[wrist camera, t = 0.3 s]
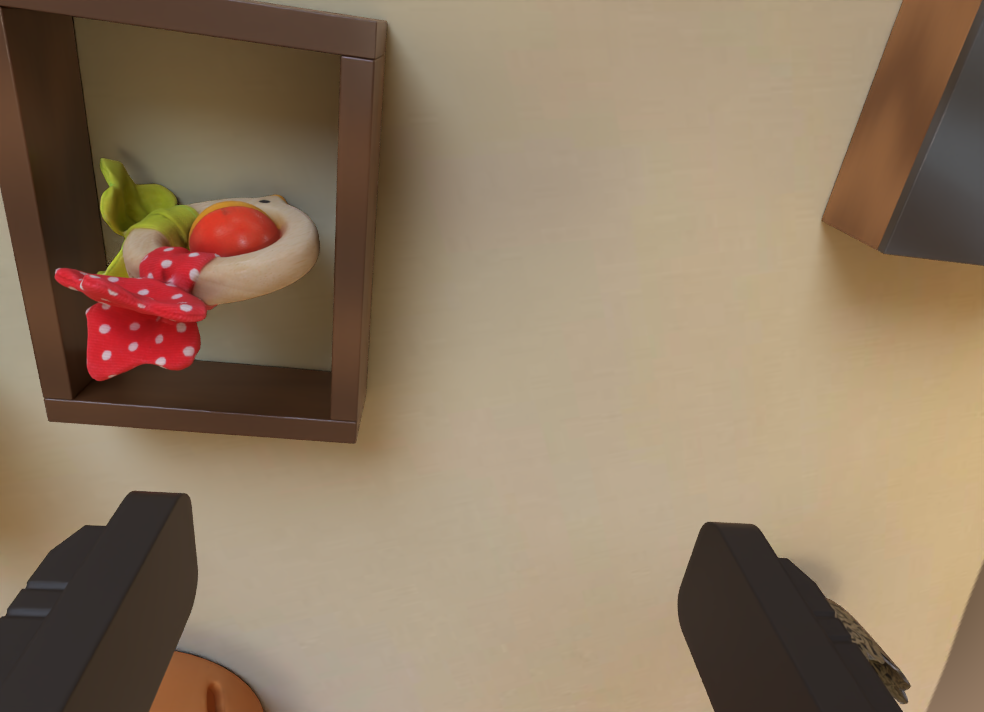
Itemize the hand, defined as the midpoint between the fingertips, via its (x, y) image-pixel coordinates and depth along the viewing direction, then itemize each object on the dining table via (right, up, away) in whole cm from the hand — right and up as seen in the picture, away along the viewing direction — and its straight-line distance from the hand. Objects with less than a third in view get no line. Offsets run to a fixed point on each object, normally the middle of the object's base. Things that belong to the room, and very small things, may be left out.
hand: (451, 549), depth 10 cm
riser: (+22, +14, +19) cm, 32 cm away
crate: (-11, +9, +19) cm, 24 cm away
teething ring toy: (-11, +9, +19) cm, 24 cm away
